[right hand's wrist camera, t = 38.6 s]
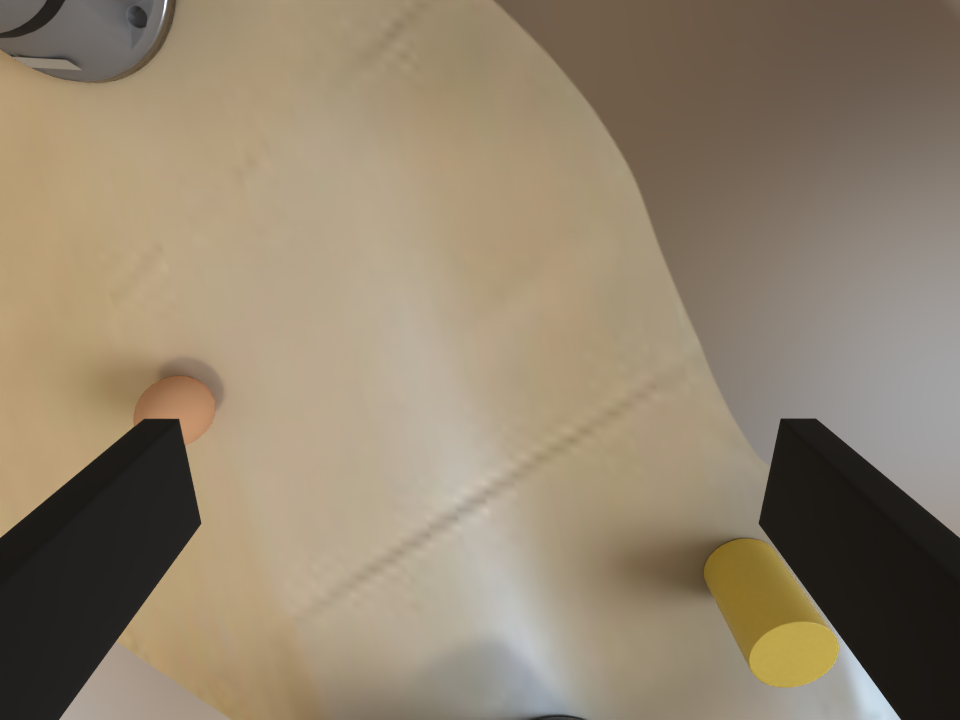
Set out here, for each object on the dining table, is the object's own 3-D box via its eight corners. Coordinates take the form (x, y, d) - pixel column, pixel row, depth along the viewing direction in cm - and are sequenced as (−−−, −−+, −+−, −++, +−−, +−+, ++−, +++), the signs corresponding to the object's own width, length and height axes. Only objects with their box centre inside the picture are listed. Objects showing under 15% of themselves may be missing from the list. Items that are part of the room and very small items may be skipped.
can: (706, 602, 63) (751, 694, 53) (700, 545, 60) (746, 630, 50) (779, 590, 63) (839, 680, 52) (776, 532, 60) (839, 614, 49)
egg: (203, 354, 53) (158, 389, 45) (240, 407, 54) (203, 449, 47) (150, 380, 53) (97, 418, 46) (188, 431, 55) (143, 476, 48)
